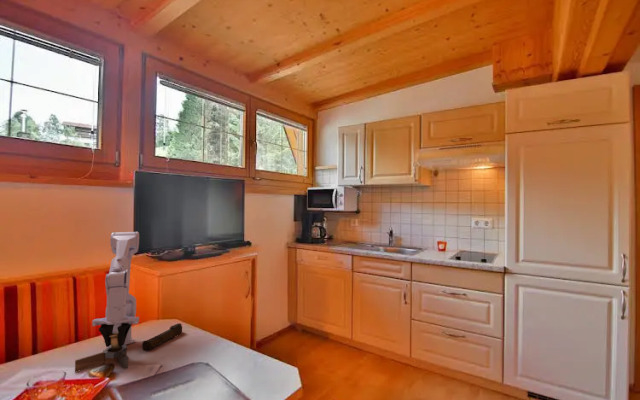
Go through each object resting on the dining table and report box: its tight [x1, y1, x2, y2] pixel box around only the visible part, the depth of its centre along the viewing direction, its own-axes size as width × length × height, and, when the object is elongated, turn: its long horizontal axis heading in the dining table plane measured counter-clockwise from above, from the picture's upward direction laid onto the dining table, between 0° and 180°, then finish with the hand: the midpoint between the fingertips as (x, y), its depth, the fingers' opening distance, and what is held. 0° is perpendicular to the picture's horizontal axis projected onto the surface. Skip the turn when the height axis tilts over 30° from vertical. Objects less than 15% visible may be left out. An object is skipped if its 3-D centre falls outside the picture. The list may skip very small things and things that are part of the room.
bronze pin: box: [109, 332, 121, 352], centre depth 106 cm, size 4×4×6 cm
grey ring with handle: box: [102, 345, 129, 370], centre depth 103 cm, size 14×6×4 cm, turn 50°
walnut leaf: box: [74, 350, 128, 373], centre depth 103 cm, size 6×14×4 cm, turn 141°
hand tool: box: [141, 323, 183, 352], centre depth 121 cm, size 19×4×5 cm, turn 162°
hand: (115, 345), depth 106 cm, fingers closed on bronze pin, 4 cm apart
